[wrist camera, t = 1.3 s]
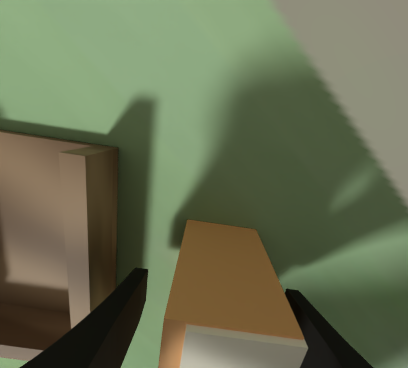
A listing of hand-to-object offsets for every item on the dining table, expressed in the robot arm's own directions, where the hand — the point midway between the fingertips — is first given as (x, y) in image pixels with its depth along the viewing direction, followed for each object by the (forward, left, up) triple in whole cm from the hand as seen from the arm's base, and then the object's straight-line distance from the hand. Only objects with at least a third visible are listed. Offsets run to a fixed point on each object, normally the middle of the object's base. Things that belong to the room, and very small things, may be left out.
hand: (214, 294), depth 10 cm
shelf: (0, +11, -2) cm, 11 cm away
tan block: (0, 0, -2) cm, 2 cm away
